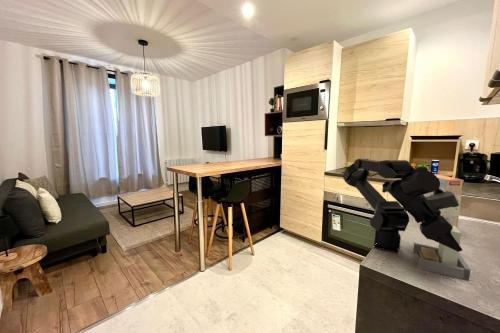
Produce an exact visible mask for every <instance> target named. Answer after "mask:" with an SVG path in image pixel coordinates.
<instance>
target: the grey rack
mask: <svg viewBox="0 0 500 333" xmlns="http://www.w3.org/2000/svg"><path fill="white" fill-rule="evenodd" d="M421 247H425V248H430V249H434V251H435V253H436V255H437V256H438V248H439V247H436V246H431V245H425V244H419V243H415V242H413V247H412V248H413V250H412V251H413V252H414V253H418V254H419V253H420V251H421ZM417 263H418V264H417V268H418V269H420V270H425V271H429V272H433V273H436V274H440V275H445V276H449V277H452V278H456V279H461V280H464V281H470V275H471V268H470V267H469V265H468V264H467V262H466V261H465V259H464V258H463V257H462V255H461V254H460V252H459V253H458V261H457V267H456V266H452V265H448V264H443V263H439V262H434V261H430V260H426V259H421V258H420V257H419V258H418V262H417Z"/></svg>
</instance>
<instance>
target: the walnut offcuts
mask: <svg viewBox="0 0 500 333" xmlns="http://www.w3.org/2000/svg"><path fill="white" fill-rule="evenodd" d="M418 254H419V258H421V259H426V260H430V261H434V262H439V259H438V257H437V255H436V253H435V251H434V249H430V248H425V247H421V251H420V253H418Z"/></svg>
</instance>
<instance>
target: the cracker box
mask: <svg viewBox="0 0 500 333" xmlns="http://www.w3.org/2000/svg"><path fill="white" fill-rule="evenodd" d="M433 174H434V175H436V177H437V178H439V181H440V187H439V188H440V189H441V190H442V191H444V192H446V191H448V192H452V193H453V194H454V195H455V197H456V199H457V201H458V203H459V206H457V207H449V208H444V209H439V210H440V211H441V216H443V217H444V218H445V219H446V220H447V221H448V222H449V223H450V224H451V225H452V226H455V227H456V228H457V229H458V226H459V224H458V223H459V218H460V211H461V210H460V209H461V202H462V195H463V188H464V181H465V180H464V179H460V178H456V177H452V176H448V175H444V174H438V173H433ZM431 195H433V192H430V193H427V194H424V196H425V197H428V196H431Z"/></svg>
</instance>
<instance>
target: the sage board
mask: <svg viewBox="0 0 500 333" xmlns="http://www.w3.org/2000/svg"><path fill="white" fill-rule="evenodd" d="M451 234H452V236H453V237H454V238H455V240H456V241H457V243H458V244H459V245H460V244H461V236H462V233H461V231H460V230H459V229H458V227H457V228H456V227H455V226H453V229H452V230H451ZM460 246H461V245H460ZM437 248H438V256H437V257H438V259H439V263H443V264H448V265H452V266H456V267H457V261H458V253H459V254H460V252H457V251H455V250H453V249H451V248H449V247H447V246H445V245H443V244H440V243H438V247H437Z"/></svg>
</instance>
